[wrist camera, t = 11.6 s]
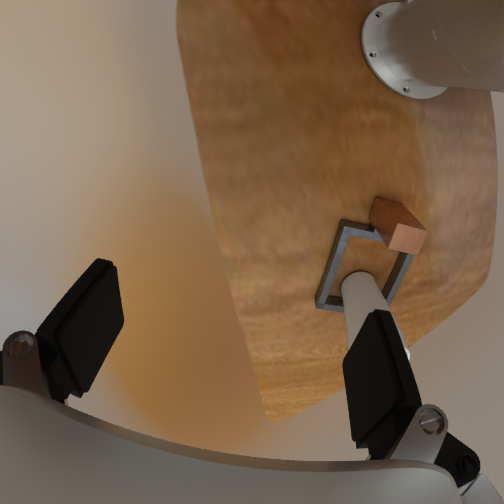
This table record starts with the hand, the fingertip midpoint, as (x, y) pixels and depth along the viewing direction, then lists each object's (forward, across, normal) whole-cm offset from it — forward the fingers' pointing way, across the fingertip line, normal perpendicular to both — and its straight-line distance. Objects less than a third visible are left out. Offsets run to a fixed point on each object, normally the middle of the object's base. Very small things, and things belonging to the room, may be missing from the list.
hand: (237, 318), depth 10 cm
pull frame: (+26, -16, +10) cm, 32 cm away
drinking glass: (+26, -16, +15) cm, 34 cm away
